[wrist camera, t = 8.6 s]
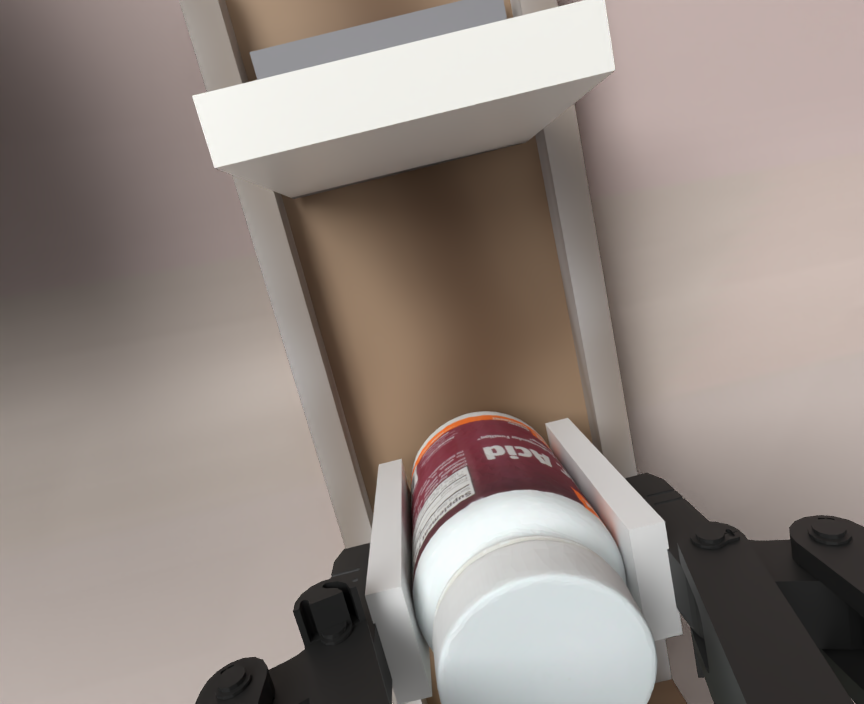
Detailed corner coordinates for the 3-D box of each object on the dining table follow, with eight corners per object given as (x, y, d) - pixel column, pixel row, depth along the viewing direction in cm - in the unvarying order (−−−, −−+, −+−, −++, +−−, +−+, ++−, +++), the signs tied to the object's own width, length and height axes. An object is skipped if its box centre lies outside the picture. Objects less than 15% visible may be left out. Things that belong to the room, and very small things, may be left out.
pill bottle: (580, 454, 18) (735, 637, 10) (499, 565, 18) (577, 826, 10) (462, 379, 17) (519, 507, 9) (381, 497, 18) (363, 719, 9)
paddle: (294, 199, 16) (214, 168, 9) (254, 58, 15) (134, -90, 9) (526, 142, 16) (615, 70, 9) (498, -2, 15) (575, -196, 9)
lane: (414, 729, 22) (419, 952, 15) (199, 9, 16) (50, -161, 9) (653, 670, 22) (767, 866, 15) (521, -69, 16) (608, -295, 9)
